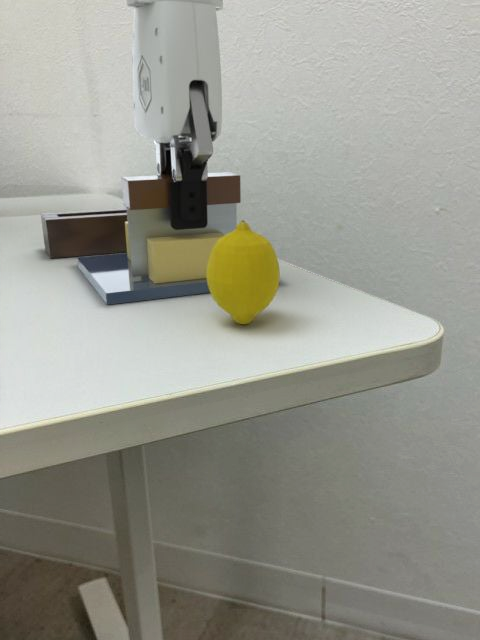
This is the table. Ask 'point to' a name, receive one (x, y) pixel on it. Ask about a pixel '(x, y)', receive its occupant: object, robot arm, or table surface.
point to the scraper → (154, 211)
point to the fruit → (243, 273)
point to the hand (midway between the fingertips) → (183, 222)
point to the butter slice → (180, 256)
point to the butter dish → (131, 281)
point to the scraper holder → (84, 232)
